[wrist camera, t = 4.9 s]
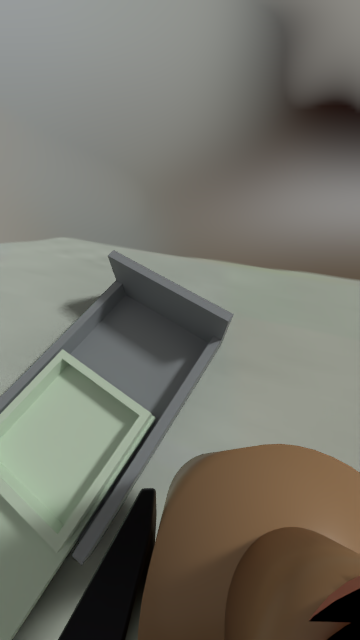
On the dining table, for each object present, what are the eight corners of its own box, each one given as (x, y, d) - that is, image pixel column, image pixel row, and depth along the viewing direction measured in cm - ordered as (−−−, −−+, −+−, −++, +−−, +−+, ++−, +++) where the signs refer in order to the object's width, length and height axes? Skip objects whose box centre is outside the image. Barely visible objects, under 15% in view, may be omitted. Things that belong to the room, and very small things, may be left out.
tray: (-44, 759, 12) (-173, 940, 8) (-153, 585, 15) (-294, 642, 11) (165, 426, 20) (162, 418, 15) (65, 353, 23) (38, 329, 18)
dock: (93, 550, 16) (55, 595, 11) (-18, 441, 20) (-89, 437, 14) (221, 344, 24) (233, 314, 19) (125, 289, 27) (113, 250, 22)
